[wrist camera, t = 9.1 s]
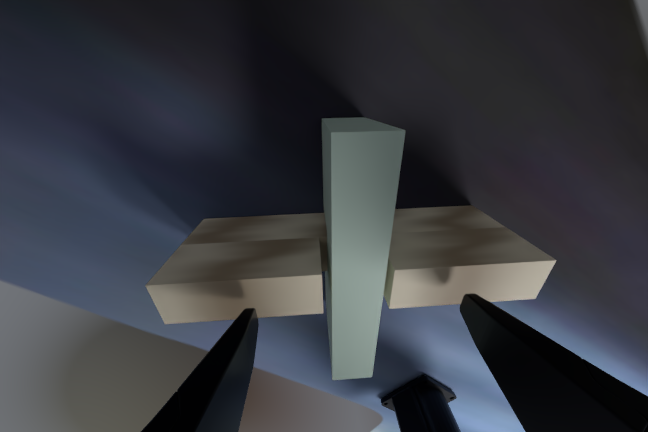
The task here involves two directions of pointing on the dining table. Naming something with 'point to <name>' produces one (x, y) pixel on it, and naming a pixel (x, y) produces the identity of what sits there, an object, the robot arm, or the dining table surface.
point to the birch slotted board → (311, 259)
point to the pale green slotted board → (357, 234)
